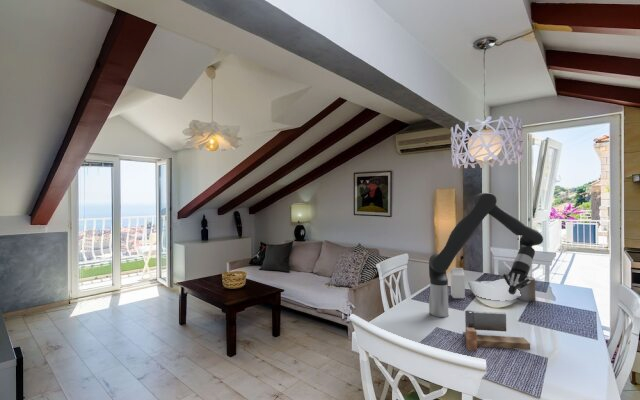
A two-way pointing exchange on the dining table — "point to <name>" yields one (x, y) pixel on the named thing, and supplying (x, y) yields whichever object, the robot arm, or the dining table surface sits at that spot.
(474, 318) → the bar
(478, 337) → the door edge
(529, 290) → the pillar candle
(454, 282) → the milk carton
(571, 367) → the dining table surface
